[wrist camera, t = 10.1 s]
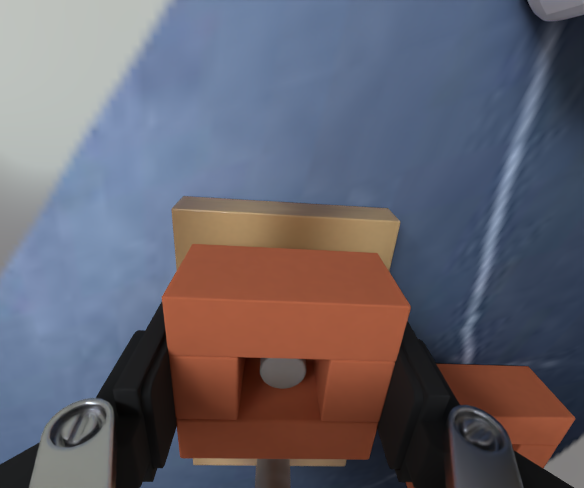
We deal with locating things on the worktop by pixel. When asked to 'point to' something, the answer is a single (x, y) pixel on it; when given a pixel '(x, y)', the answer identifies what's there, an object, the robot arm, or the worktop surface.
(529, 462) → the robot arm
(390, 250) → the base board
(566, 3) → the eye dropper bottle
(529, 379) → the orange square ring block
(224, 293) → the pad
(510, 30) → the worktop surface
